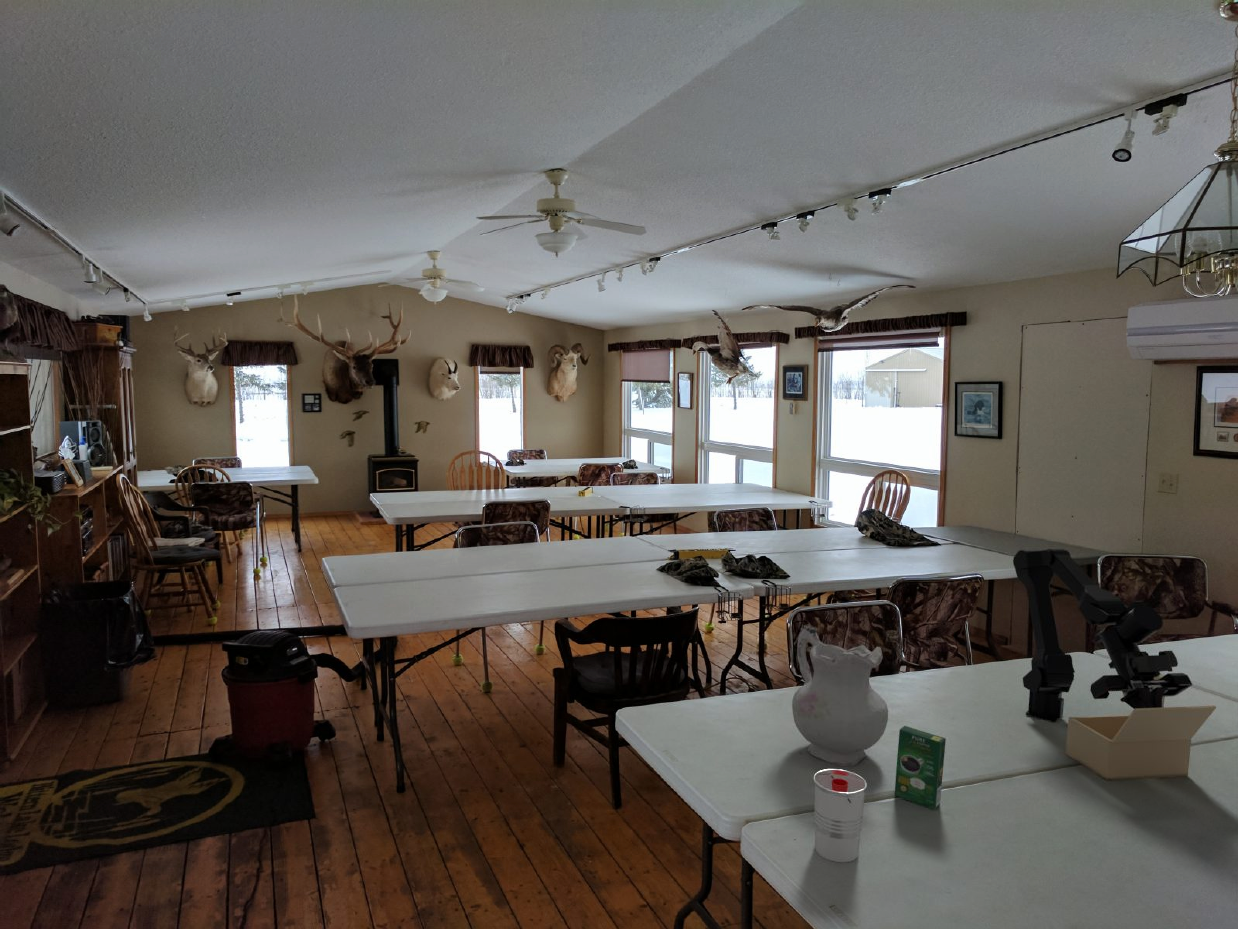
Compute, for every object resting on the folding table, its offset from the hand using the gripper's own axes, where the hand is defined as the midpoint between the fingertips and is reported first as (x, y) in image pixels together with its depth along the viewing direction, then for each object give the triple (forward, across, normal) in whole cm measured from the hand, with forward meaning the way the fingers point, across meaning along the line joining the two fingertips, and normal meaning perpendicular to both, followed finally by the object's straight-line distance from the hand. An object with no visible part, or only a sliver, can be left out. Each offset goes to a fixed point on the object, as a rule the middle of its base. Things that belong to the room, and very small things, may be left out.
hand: (1160, 727), depth 165 cm
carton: (+3, 0, +14) cm, 14 cm away
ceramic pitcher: (-6, -58, +23) cm, 63 cm away
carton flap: (0, 0, -1) cm, 1 cm away
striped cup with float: (+20, -72, -4) cm, 75 cm away
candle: (-14, +27, +32) cm, 44 cm away
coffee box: (+10, -51, +6) cm, 52 cm away
